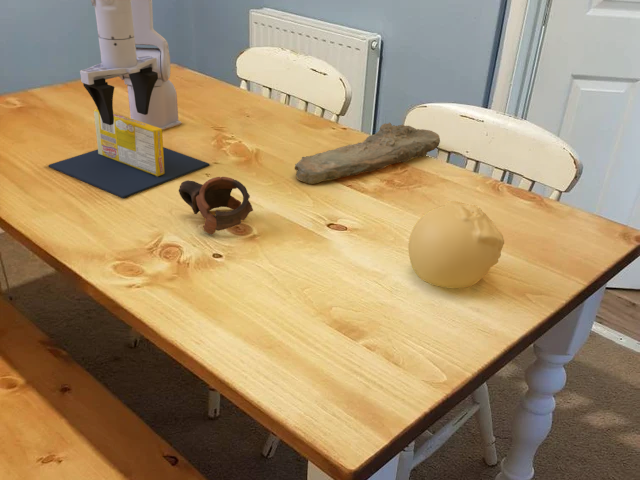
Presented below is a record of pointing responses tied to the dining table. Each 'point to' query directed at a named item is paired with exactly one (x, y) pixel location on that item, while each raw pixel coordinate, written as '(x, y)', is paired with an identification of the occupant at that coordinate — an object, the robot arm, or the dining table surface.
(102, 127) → the candy box
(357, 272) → the dining table surface
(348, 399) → the dining table surface
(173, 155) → the cloth
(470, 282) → the sculpture
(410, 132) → the long grey stone
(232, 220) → the brown curved ring piece
